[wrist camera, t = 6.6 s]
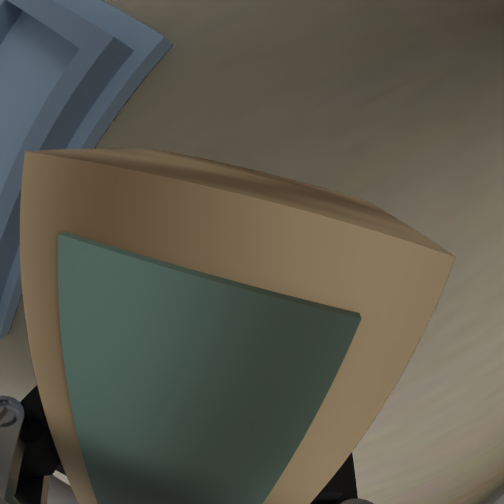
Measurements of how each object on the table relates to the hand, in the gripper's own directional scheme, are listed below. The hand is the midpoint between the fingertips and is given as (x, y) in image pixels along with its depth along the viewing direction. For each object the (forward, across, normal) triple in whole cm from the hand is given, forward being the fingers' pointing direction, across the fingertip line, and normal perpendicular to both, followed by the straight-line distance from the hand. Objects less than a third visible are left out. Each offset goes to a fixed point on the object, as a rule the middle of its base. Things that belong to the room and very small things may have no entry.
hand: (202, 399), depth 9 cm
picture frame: (+1, 0, 0) cm, 1 cm away
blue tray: (+6, +16, -6) cm, 19 cm away
